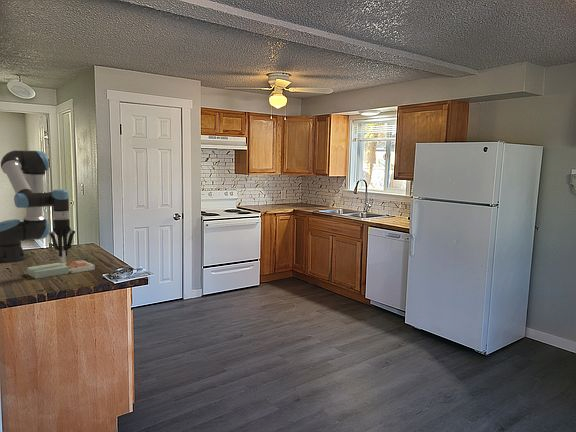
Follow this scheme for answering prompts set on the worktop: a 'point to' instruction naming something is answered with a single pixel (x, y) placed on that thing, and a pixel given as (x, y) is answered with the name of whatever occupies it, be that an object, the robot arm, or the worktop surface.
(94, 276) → the worktop surface
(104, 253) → the worktop surface
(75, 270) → the tray
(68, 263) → the tile near
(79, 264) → the tile far
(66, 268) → the board
